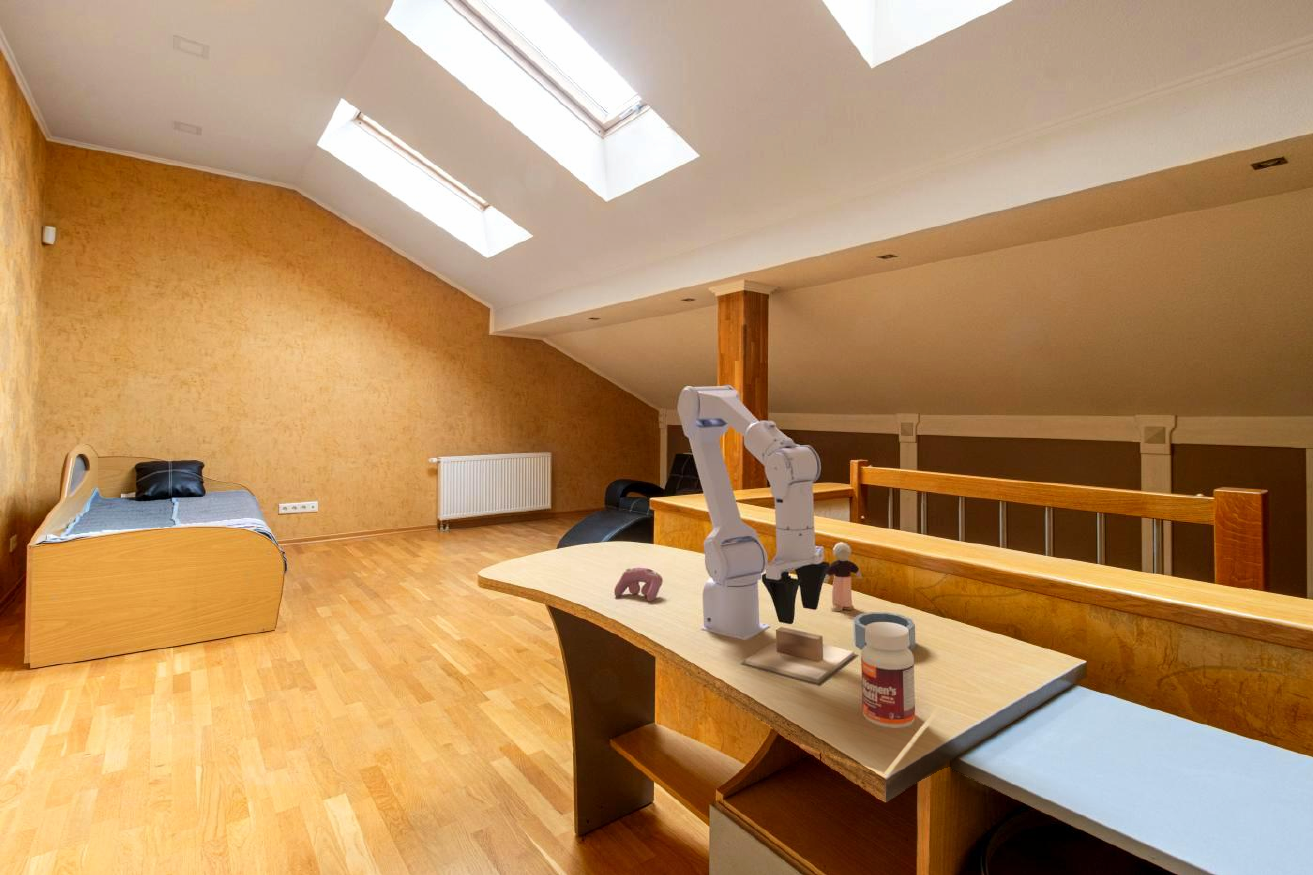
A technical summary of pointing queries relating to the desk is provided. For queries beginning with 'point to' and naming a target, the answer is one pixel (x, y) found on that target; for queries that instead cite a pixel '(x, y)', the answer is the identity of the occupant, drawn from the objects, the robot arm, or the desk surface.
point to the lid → (800, 656)
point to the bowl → (874, 617)
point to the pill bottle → (888, 675)
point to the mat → (806, 680)
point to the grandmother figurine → (842, 578)
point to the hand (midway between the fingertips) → (798, 615)
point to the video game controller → (633, 579)
